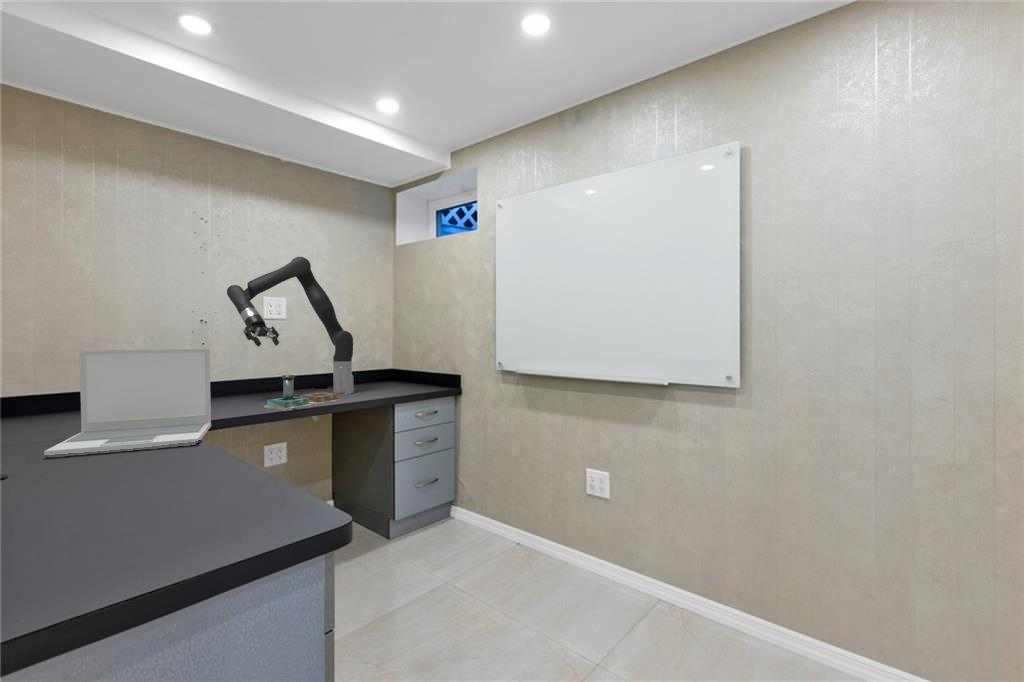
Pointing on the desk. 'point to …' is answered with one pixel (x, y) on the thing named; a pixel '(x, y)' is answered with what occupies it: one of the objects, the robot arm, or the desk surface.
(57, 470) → the desk surface
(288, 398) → the steel pin
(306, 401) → the dock board
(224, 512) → the desk surface
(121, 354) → the laptop
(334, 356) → the robot arm
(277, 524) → the desk surface
